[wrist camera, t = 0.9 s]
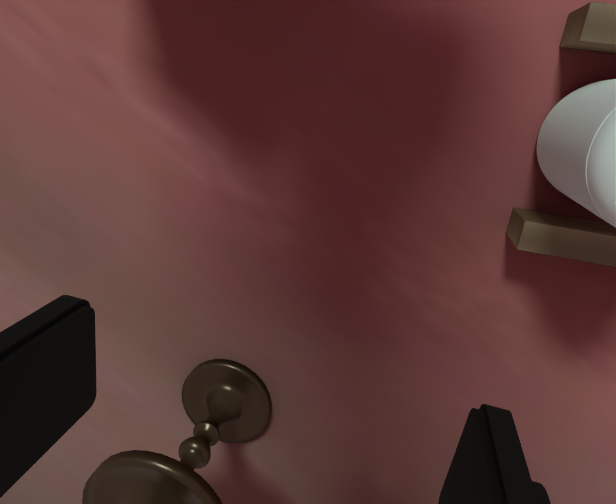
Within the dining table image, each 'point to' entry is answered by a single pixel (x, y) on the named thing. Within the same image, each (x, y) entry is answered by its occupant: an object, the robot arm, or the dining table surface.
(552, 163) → the pill bottle
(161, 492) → the candlestick
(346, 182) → the dining table surface
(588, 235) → the u rest
